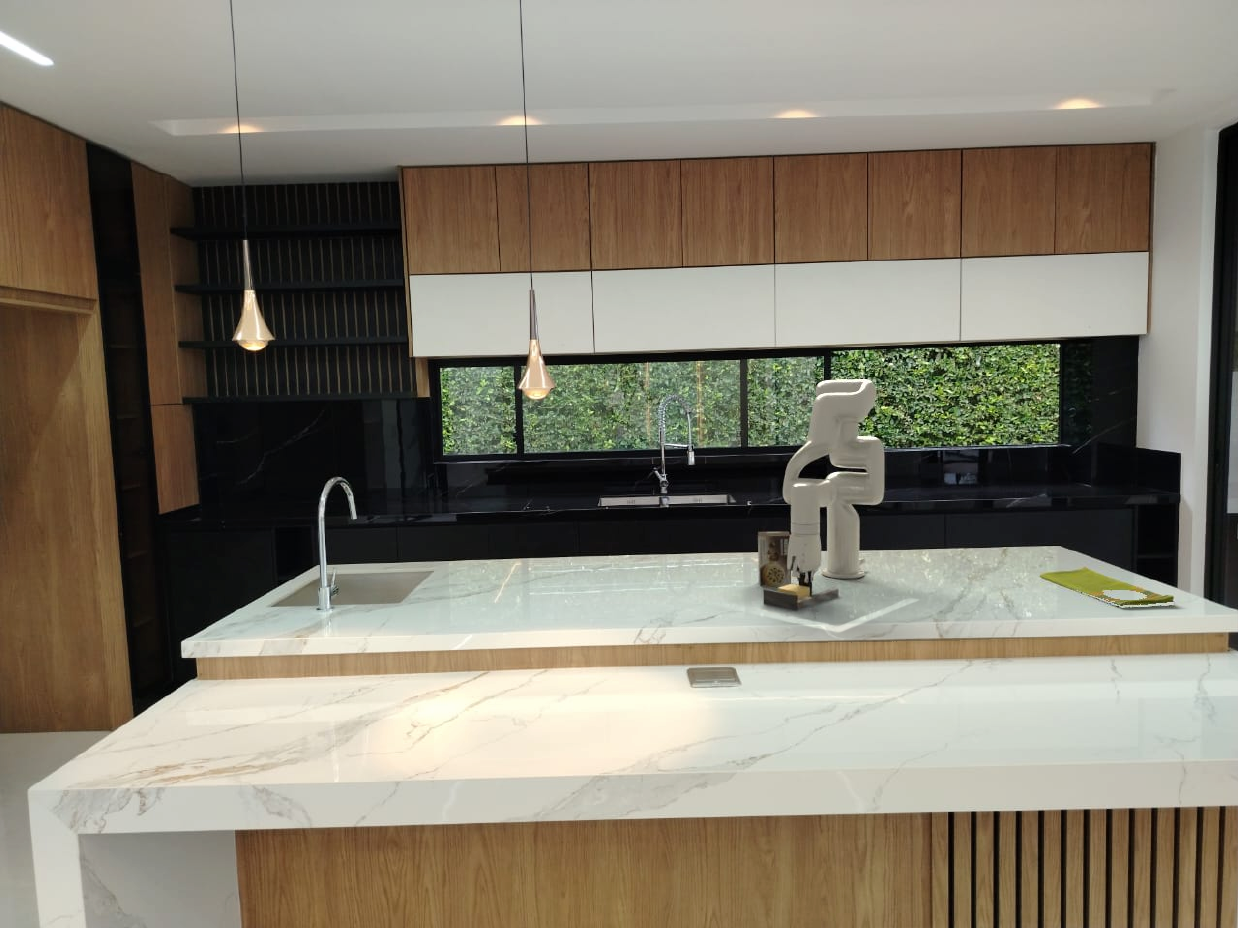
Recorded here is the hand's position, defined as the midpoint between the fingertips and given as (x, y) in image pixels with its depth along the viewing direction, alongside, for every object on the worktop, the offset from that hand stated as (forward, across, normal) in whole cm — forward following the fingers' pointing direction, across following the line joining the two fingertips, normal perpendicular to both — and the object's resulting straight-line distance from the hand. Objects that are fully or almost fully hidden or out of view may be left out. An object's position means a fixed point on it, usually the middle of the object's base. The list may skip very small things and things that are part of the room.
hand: (805, 595), depth 232 cm
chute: (+2, +2, 0) cm, 3 cm away
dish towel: (+3, -65, +54) cm, 84 cm away
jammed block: (+1, +5, 0) cm, 5 cm away
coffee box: (+2, -8, -16) cm, 18 cm away
